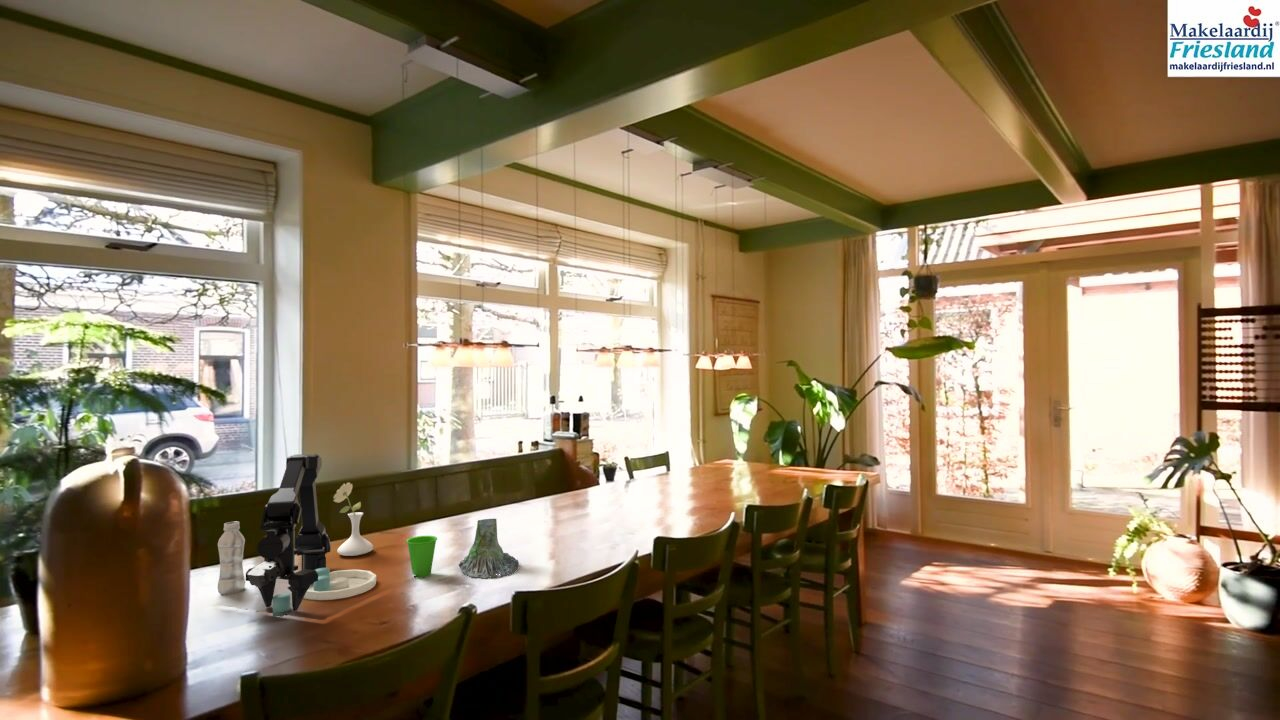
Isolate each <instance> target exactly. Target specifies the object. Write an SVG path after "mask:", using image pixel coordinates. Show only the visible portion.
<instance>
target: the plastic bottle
mask: <svg viewBox="0 0 1280 720" xmlns="http://www.w3.org/2000/svg"><path fill="white" fill-rule="evenodd" d="M240 529H241V527H240V521H237V520H236V521H229V522H225V523H223V531H224V532H223V533H222V534H221V536H220V537H219V539H218V542H217V549H218V555H219V577H218V582H217V590H218V591H217V592H218V593H219V595H221V596H224V595H232V594H236V593H239V592H240V593H241V592H242V591H244V589H245V587H246V576H245V575H244V565H243V560H244V549H245V542H246V538H245V537H244V535H243V534H242V532H241V531H240Z"/></svg>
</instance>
